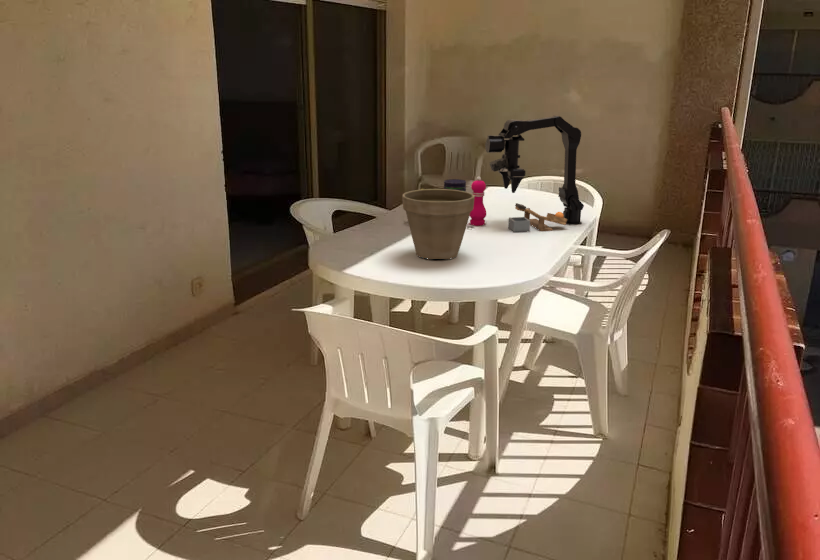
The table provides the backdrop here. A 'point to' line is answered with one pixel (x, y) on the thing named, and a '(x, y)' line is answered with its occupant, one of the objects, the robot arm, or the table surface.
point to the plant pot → (437, 220)
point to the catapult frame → (537, 222)
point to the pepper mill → (478, 203)
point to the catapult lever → (548, 218)
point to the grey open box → (519, 224)
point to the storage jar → (455, 184)
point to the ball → (559, 214)
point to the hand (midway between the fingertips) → (509, 190)
